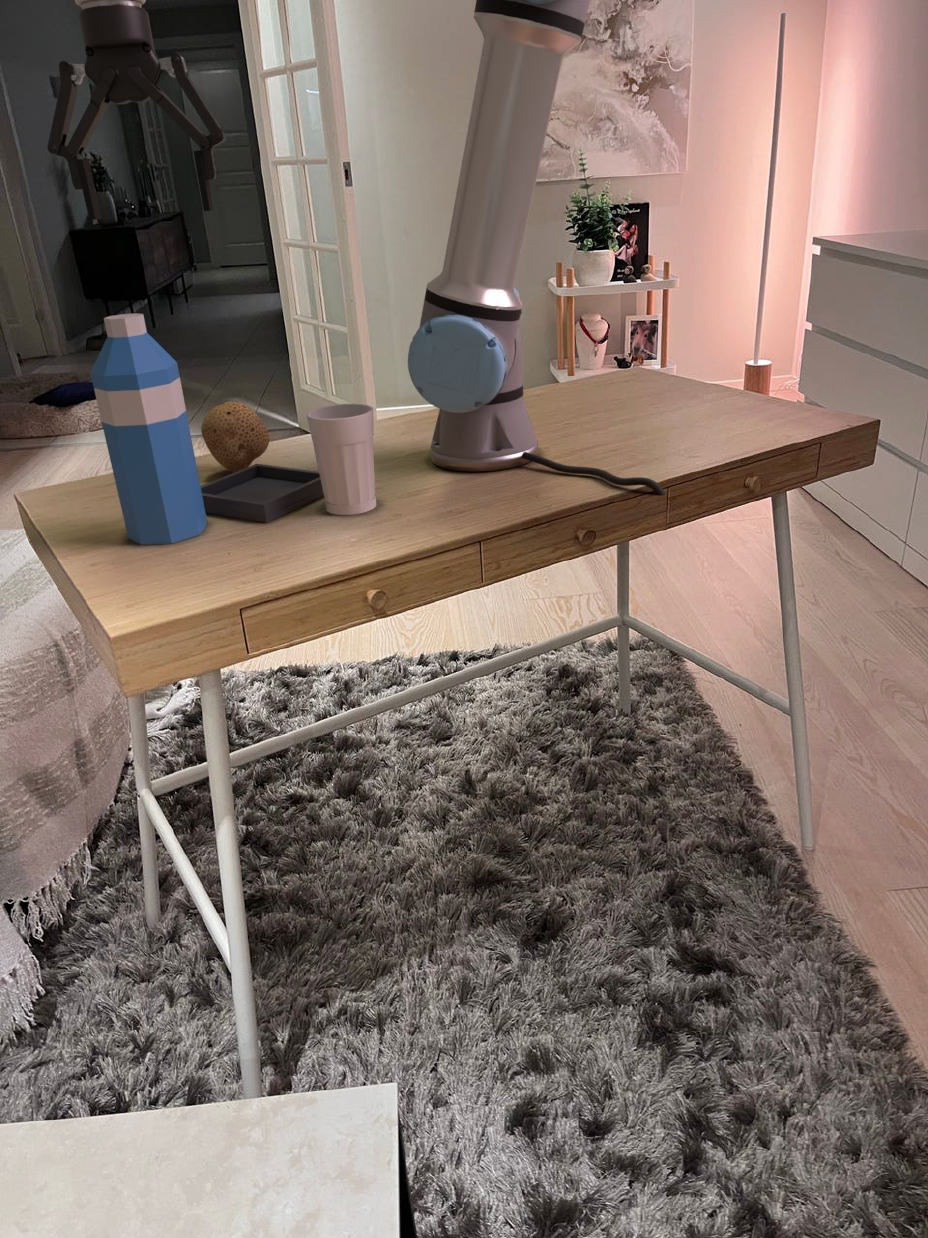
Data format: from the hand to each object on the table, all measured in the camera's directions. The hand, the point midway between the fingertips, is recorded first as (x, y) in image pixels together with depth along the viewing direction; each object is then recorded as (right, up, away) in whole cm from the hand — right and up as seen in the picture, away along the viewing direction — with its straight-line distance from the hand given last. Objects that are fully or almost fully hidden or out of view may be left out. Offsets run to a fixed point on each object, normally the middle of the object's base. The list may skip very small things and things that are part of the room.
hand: (152, 215), depth 114 cm
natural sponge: (+6, -28, +21) cm, 36 cm away
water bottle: (+2, -39, 0) cm, 39 cm away
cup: (+24, -35, +4) cm, 43 cm away
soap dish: (+11, -33, +9) cm, 36 cm away
